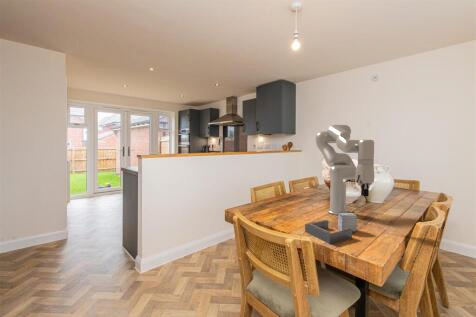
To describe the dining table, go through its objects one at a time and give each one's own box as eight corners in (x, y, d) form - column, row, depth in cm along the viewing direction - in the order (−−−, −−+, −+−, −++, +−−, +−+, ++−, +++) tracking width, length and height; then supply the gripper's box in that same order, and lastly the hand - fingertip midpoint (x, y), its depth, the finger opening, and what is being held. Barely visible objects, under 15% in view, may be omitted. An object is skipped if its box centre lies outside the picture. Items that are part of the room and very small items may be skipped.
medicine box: (352, 228, 122) (352, 212, 121) (356, 231, 117) (357, 215, 117) (337, 228, 121) (338, 212, 121) (341, 232, 117) (342, 215, 116)
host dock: (326, 227, 124) (326, 218, 123) (352, 238, 109) (352, 228, 109) (305, 231, 117) (305, 223, 117) (329, 244, 103) (329, 234, 102)
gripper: (368, 161, 129) (367, 193, 130) (350, 162, 123) (349, 195, 124) (381, 162, 122) (380, 195, 123) (363, 163, 116) (362, 198, 117)
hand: (364, 195), depth 123 cm, fingers closed
